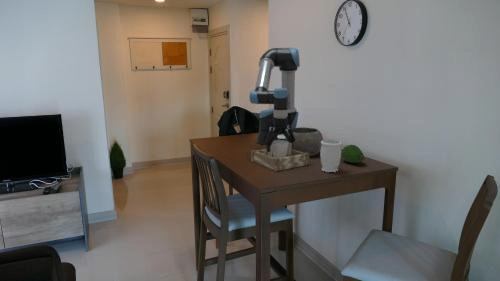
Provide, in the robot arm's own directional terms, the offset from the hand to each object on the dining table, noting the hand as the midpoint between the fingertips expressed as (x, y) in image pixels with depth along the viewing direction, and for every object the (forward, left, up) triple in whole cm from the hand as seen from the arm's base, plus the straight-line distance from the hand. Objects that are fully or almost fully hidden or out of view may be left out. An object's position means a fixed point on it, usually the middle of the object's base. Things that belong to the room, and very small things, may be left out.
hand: (279, 155), depth 189 cm
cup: (0, 0, -4) cm, 4 cm away
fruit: (-34, +22, -4) cm, 41 cm away
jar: (-13, +25, -4) cm, 29 cm away
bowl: (-26, -9, -4) cm, 28 cm away
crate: (0, 0, -4) cm, 4 cm away
